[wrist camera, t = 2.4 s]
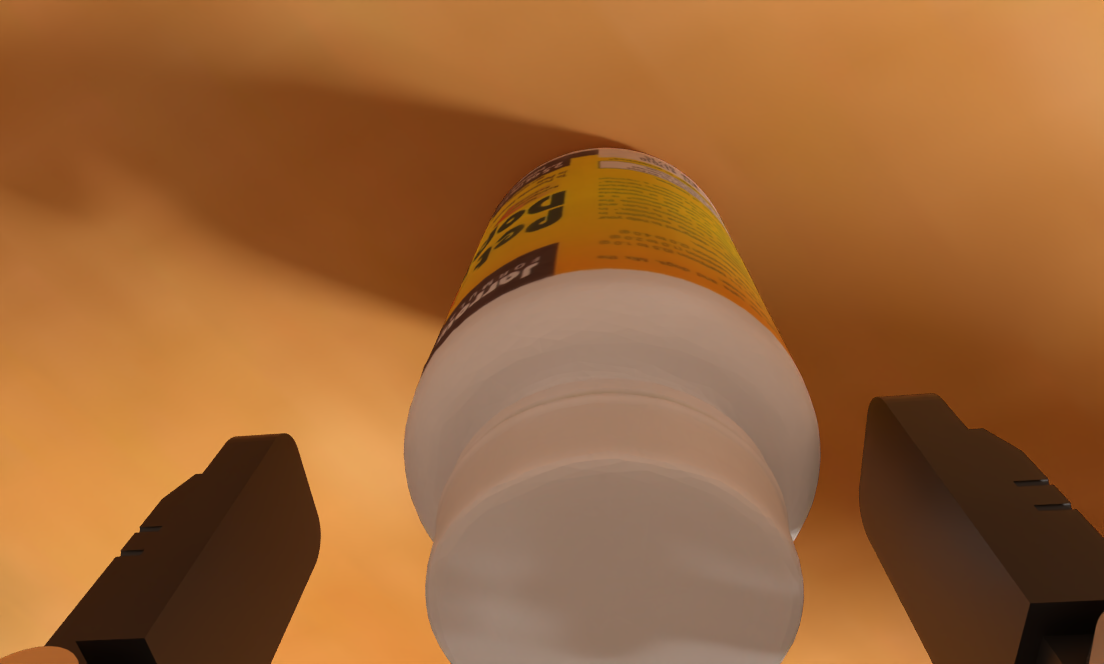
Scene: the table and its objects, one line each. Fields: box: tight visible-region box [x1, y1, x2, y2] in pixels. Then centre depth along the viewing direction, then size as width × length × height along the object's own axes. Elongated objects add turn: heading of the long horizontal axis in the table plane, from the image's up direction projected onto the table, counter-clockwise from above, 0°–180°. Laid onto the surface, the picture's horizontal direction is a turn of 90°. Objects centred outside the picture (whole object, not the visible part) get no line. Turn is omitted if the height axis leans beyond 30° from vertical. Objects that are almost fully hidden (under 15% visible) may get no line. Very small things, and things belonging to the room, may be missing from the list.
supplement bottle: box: [404, 148, 821, 664], centre depth 12 cm, size 6×6×10 cm
